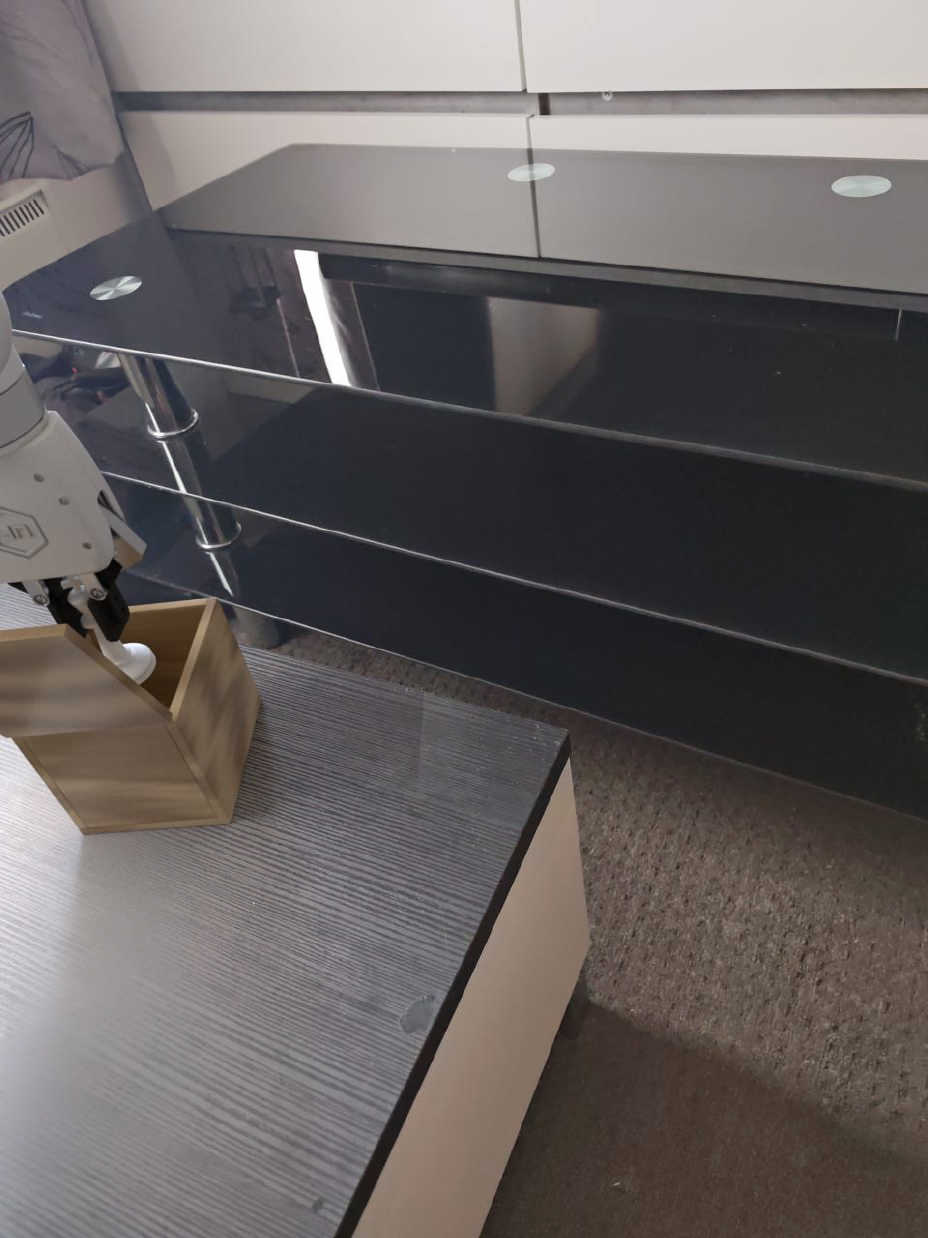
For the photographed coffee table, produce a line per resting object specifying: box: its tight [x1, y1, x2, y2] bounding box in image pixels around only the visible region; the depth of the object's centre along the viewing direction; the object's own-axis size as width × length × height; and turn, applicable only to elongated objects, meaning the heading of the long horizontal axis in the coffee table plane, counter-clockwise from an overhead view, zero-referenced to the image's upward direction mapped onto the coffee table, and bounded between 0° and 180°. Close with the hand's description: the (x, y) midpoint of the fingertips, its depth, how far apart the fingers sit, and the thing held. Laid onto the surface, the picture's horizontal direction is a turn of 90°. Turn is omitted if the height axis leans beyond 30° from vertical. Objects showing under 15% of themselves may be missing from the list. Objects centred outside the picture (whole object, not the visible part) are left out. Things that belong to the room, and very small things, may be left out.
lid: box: [0, 623, 173, 739], centre depth 59 cm, size 14×13×1 cm
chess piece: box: [61, 575, 156, 685], centre depth 68 cm, size 5×5×10 cm
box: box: [11, 596, 263, 835], centre depth 75 cm, size 14×13×12 cm
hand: (101, 629), depth 68 cm, fingers closed on chess piece
